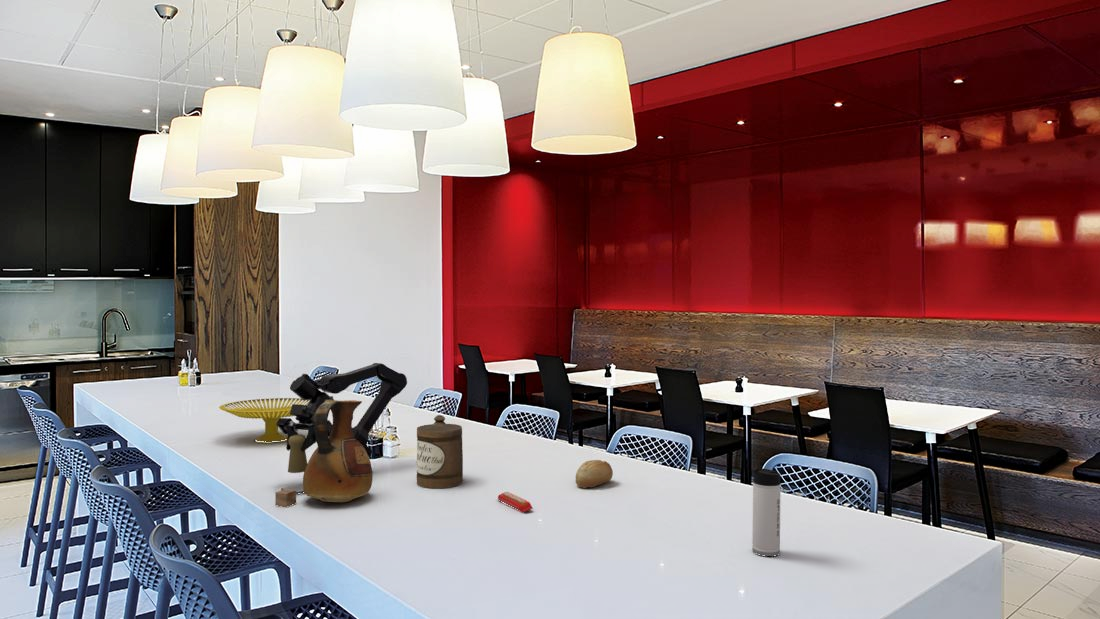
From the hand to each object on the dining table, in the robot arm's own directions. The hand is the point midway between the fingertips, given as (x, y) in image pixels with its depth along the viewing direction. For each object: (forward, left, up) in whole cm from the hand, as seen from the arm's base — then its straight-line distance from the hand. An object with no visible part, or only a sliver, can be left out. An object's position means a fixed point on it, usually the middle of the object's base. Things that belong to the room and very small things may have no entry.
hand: (294, 450), depth 225 cm
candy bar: (-36, +60, -13) cm, 71 cm away
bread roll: (-71, +61, -13) cm, 95 cm away
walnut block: (+9, +11, -13) cm, 19 cm away
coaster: (-2, 0, -13) cm, 13 cm away
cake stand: (-34, -82, -13) cm, 90 cm away
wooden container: (-38, +24, -13) cm, 46 cm away
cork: (-1, -1, -7) cm, 7 cm away
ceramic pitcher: (-5, +17, -13) cm, 22 cm away
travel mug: (-50, +131, -13) cm, 140 cm away
